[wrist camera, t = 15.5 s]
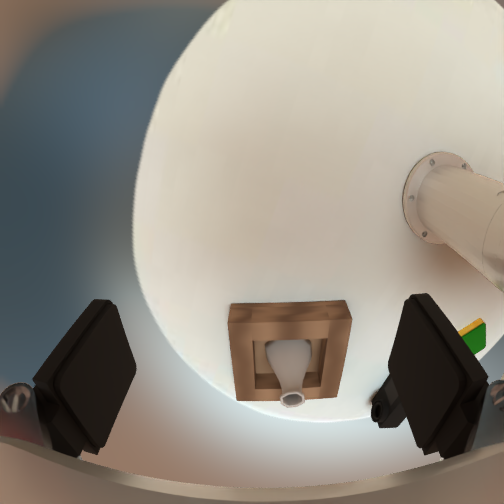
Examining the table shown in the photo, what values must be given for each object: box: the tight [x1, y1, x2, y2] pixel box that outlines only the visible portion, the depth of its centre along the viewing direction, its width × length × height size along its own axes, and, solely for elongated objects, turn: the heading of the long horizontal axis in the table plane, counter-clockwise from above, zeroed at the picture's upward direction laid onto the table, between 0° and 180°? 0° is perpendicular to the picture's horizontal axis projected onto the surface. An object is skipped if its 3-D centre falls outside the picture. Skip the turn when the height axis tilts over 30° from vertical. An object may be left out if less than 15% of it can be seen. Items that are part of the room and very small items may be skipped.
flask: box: [264, 339, 312, 408], centre depth 39 cm, size 7×7×10 cm
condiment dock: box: [228, 300, 352, 401], centre depth 43 cm, size 16×16×4 cm
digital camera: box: [371, 375, 406, 428], centre depth 45 cm, size 10×5×7 cm, turn 168°
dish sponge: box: [458, 318, 486, 355], centre depth 44 cm, size 7×14×2 cm, turn 119°
